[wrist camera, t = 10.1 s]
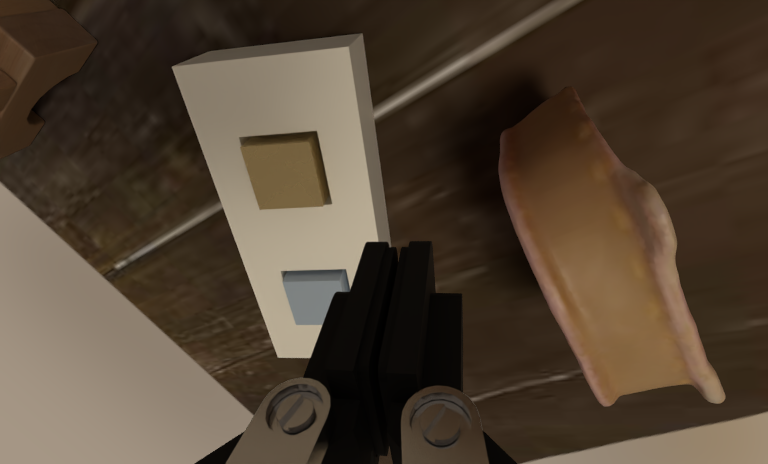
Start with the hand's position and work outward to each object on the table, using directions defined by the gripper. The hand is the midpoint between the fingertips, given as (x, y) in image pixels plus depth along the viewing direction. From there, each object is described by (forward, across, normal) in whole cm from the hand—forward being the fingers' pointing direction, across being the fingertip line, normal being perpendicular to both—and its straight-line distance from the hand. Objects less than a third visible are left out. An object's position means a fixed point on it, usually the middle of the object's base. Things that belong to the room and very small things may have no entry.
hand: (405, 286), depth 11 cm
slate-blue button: (+20, +11, +17) cm, 29 cm away
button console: (+24, +12, +12) cm, 29 cm away
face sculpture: (+25, -9, +11) cm, 29 cm away
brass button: (+20, +11, +5) cm, 24 cm away
